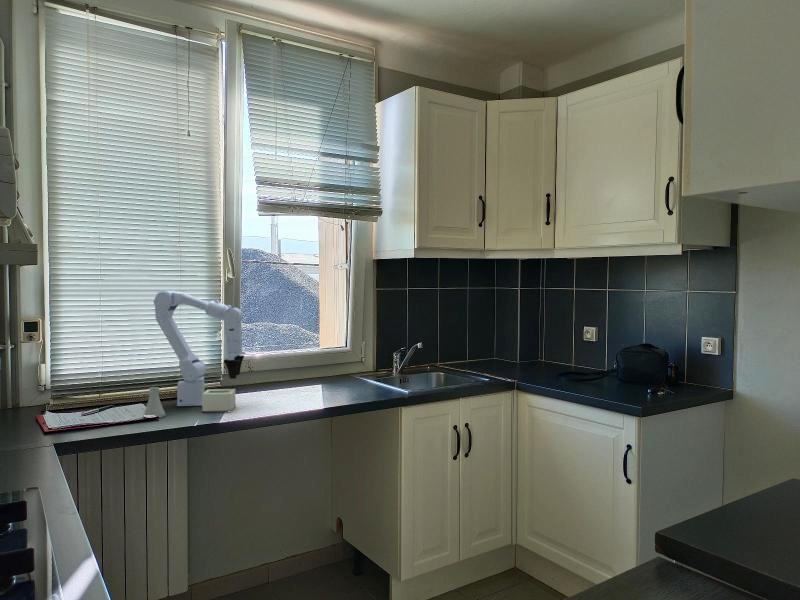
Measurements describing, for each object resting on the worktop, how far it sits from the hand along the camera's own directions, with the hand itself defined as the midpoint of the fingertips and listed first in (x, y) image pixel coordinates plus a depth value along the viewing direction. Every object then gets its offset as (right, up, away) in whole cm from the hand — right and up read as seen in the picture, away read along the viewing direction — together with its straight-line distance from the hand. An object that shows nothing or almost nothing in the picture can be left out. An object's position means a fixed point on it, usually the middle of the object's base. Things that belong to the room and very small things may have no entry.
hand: (234, 376), depth 224 cm
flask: (-22, -12, -19) cm, 31 cm away
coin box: (-3, -11, -8) cm, 14 cm away
